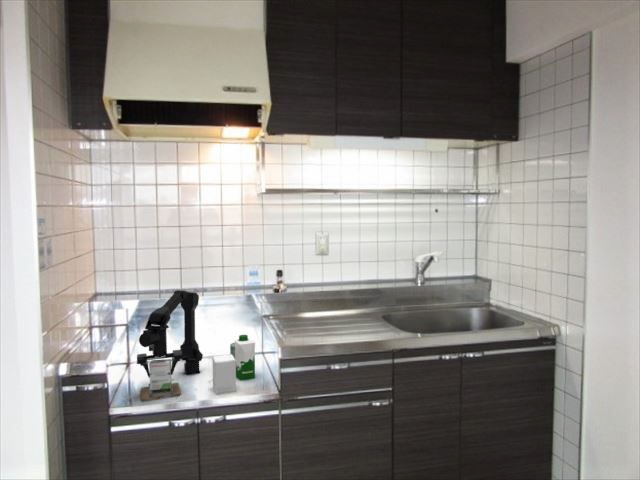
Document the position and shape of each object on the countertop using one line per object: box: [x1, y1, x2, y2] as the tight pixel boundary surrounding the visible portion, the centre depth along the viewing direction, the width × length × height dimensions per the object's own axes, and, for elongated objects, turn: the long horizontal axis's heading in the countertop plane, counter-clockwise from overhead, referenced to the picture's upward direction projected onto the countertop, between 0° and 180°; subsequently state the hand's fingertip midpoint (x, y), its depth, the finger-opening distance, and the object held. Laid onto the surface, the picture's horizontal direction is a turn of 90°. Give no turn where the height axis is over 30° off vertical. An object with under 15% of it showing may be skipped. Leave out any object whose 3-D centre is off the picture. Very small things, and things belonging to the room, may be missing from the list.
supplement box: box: [212, 354, 237, 396], centre depth 205 cm, size 9×9×15 cm
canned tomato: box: [229, 342, 235, 359], centre depth 240 cm, size 8×8×11 cm
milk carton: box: [234, 334, 256, 381], centre depth 221 cm, size 9×9×20 cm
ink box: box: [148, 358, 173, 390], centre depth 204 cm, size 9×5×12 cm, turn 100°
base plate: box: [140, 382, 182, 402], centre depth 204 cm, size 16×14×2 cm
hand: (160, 376), depth 204 cm, fingers closed on ink box, 9 cm apart
